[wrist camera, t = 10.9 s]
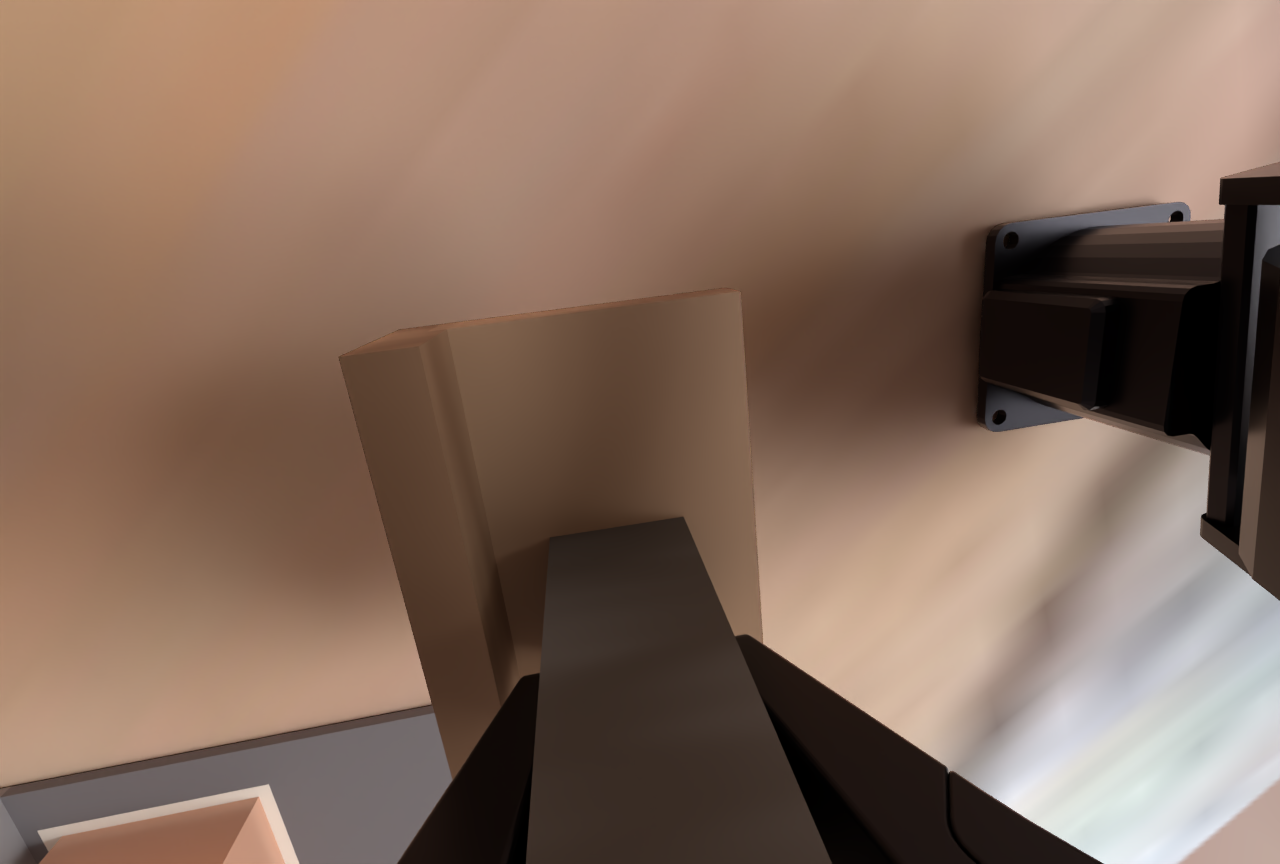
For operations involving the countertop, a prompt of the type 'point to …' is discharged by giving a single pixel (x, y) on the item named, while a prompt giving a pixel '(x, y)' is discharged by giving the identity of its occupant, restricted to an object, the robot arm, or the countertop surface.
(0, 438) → the countertop surface
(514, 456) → the beige ledged slab
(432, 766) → the gray ledged slab
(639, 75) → the countertop surface
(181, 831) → the tile
